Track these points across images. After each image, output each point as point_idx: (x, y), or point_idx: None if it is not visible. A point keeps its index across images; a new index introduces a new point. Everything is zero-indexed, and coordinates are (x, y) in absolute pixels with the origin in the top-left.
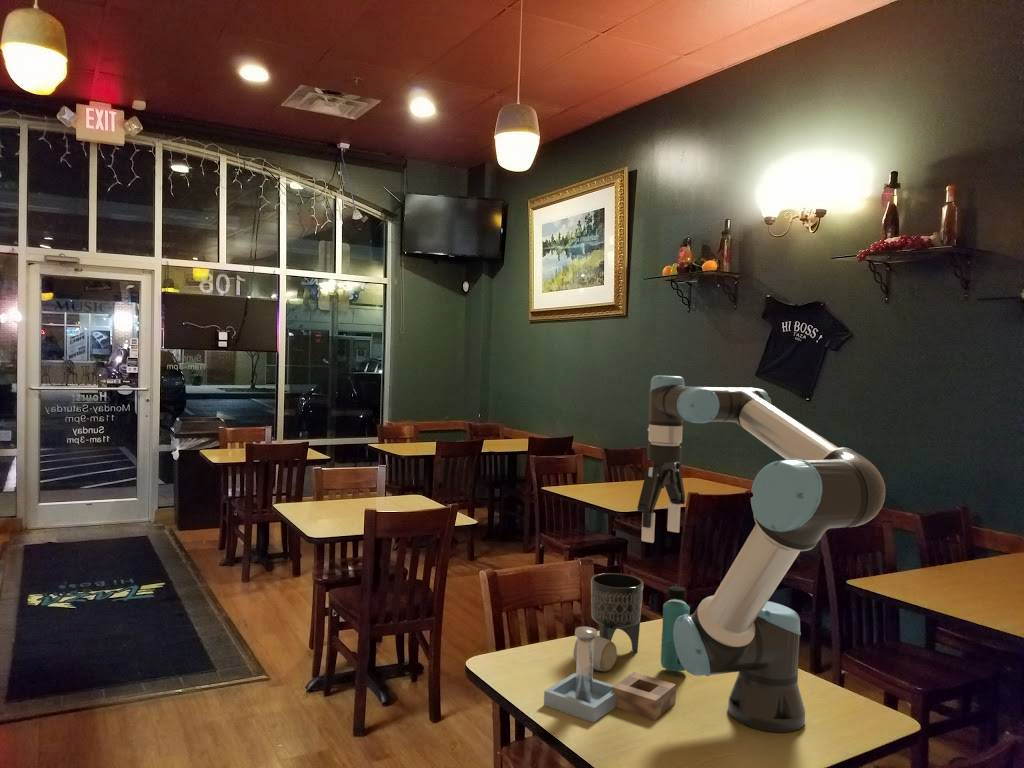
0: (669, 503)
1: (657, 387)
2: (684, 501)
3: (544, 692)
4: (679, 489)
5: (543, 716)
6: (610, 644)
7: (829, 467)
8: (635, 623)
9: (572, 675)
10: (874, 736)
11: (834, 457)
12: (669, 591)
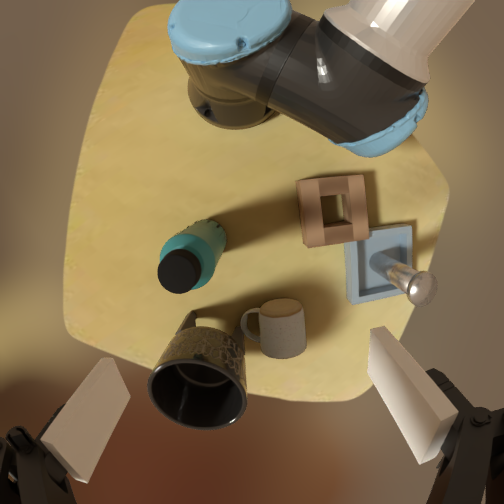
0: (82, 480)
1: None
2: (11, 433)
3: None
4: (6, 498)
5: (421, 269)
6: (283, 313)
7: None
8: (202, 326)
9: (360, 301)
10: None
11: None
12: (195, 283)
